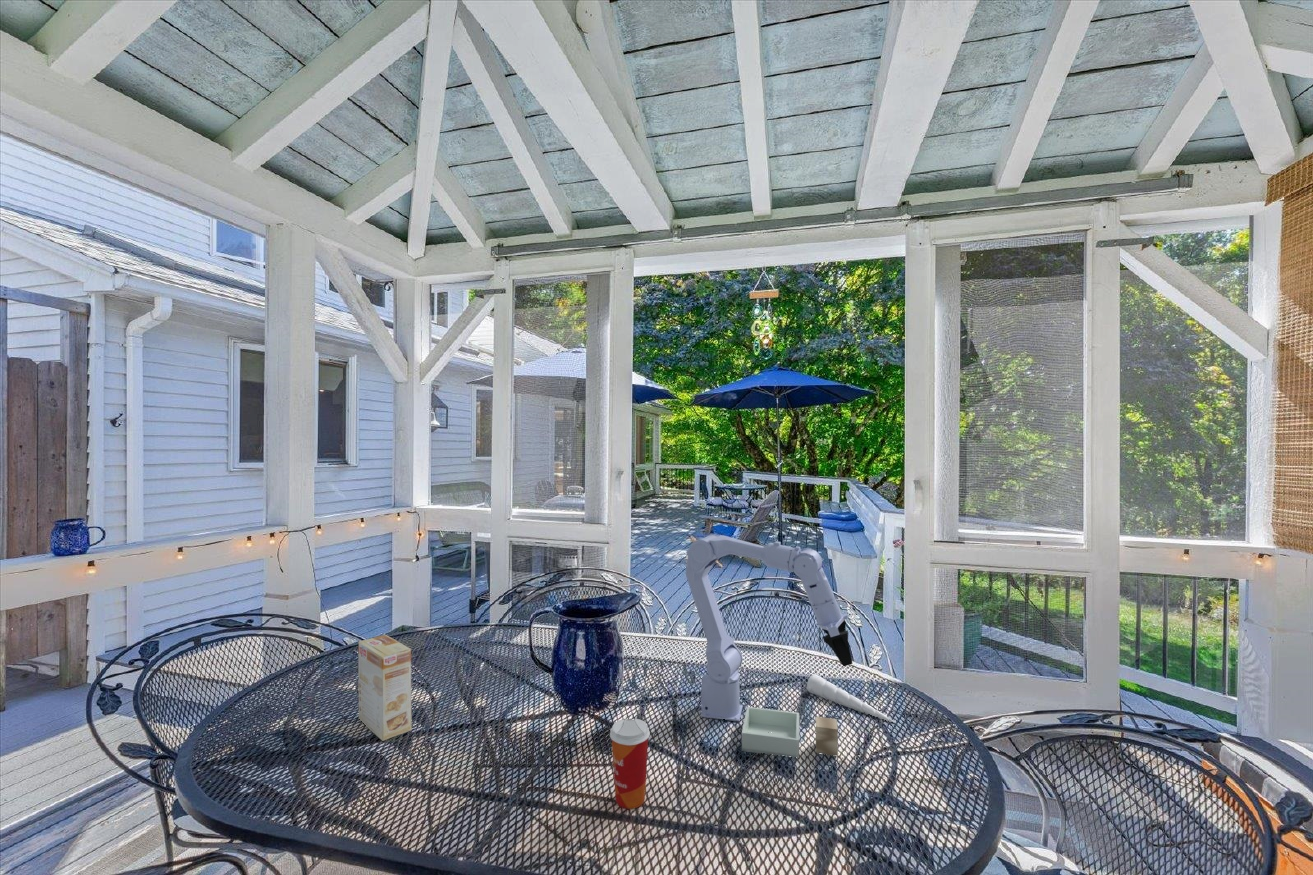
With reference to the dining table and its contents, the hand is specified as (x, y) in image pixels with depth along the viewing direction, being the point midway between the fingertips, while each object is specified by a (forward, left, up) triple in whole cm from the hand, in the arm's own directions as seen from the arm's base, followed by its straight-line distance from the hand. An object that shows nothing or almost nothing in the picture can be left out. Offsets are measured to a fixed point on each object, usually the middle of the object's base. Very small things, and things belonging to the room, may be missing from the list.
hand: (846, 659), depth 127 cm
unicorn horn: (+1, +19, -19) cm, 27 cm away
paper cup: (-42, -31, -19) cm, 55 cm away
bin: (-17, -3, -19) cm, 25 cm away
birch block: (-5, -4, -19) cm, 20 cm away
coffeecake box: (-108, -19, -19) cm, 111 cm away
